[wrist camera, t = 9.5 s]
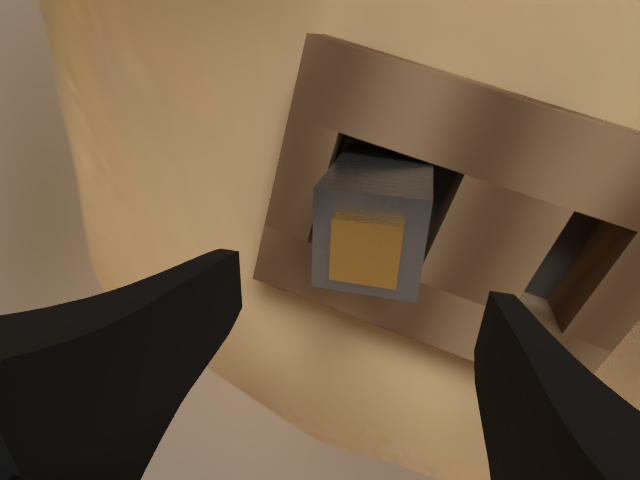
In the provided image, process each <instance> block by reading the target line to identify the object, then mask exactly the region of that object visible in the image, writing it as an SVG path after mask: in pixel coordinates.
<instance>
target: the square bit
mask: <svg viewBox="0 0 640 480" xmlns="http://www.w3.org/2000/svg"><path fill="white" fill-rule="evenodd" d="M432 205H433V164H432V163H429V162H426V161H423V160H420V159H417V158H414V157H411V156H408V155H405V154H402V153H399V152H396V151H393V150H390V149H387V148H384V147H381V146H378V145H370V144H358V143H349V145H348V146H347V147H346V148H345V150H344V151H343V152H342V153H341V154H340V156H339V157H338V158H337V159H336V161H335V162H334V163H333V164H332V166H331V167H330V168H329V169H328V170H327V172H326V173H325V174H324V175H323V177H322V178H321V179H320V180H319V181H318V183H317V184H316V185H315V186H314V188H313V235H312V285H311V286H314V287H320V288H327V289H333V290H339V291H345V292H352V293H358V294H364V295H370V296H377V297H383V298H389V299H395V300H402V301H408V302H414V303H417V298H418V292H419V286H420V280H421V273H422V267H423V261H424V255H425V248H426V242H427V236H428V230H429V223H430V217H431V211H432Z"/></svg>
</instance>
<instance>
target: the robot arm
mask: <svg viewBox="0 0 640 480" xmlns="http://www.w3.org/2000/svg"><path fill="white" fill-rule="evenodd" d="M241 309H242V295H241V279H240V263H239V251H233V250H226V249H217V250H214V251H211V252H209V253H206V254H203V255H201V256H199V257H196V258H194V259H191V260H189V261H187V262H184V263H182V264H180V265H177V266H175V267H173V268H170V269H168V270H166V271H163V272H161V273H158V274H156V275H153V276H150V277H148V278H145V279H143V280H140V281H137V282H135V283H132V284H130V285H127V286H124V287H121V288H118V289H115V290H112V291H109V292H105V293H102V294H98V295H95V296H92V297H88V298H84V299H80V300H76V301H72V302H67V303H63V304H59V305H55V306H51V307H46V308H41V309H35V310H30V311H24V312H19V313H13V314H6V315H0V480H141V478H142V476H143V474H144V472H145V469H146V467H147V465H148V464H149V462H150V460H151V458H152V456H153V454H154V452H155V450H156V448H157V446H158V444H159V442H160V441H161V438H162V437H163V435H164V433H165V431H166V429H167V428H168V426H169V424H170V422H171V420H172V419H173V417H174V415H175V413H176V411H177V409H178V408H179V406H180V404H181V403H182V401H183V400H184V398H185V397H186V395H187V393H188V392H189V390H190V389H191V388H192V386H193V385H194V383H195V382H196V381H197V379H198V378H199V376H200V375H201V373H202V372H203V371H204V369H205V368H206V366H207V365H208V364H209V362H210V361H211V359H212V358H213V356H214V355H215V354H216V352H217V351H218V349H219V348H220V346H221V345H222V343H223V342H224V341H225V339H226V338H227V336H228V335H229V333H230V331H231V329H232V327H233V325H234V323H235V321H236V319H237V317H238V315H239V313H240V311H241ZM474 370H475V386H476V392H477V398H478V404H479V410H480V416H481V422H482V427H483V433H484V439H485V444H486V450H487V456H488V462H489V469H490V477H491V480H640V411H639V410H637V409H636V408H635V407H633V406H632V405H631V404H629V403H628V402H627V401H626V400H624V399H623V398H622V397H621V396H619V395H618V394H617V393H616V392H614V391H613V390H612V389H611V388H609V387H608V386H607V385H606V384H604V383H603V382H602V381H601V380H600V379H598V378H597V377H596V376H595V375H594V374H593V373H592V372H590V371H589V370H588V369H587V368H586V367H585V366H584V365H583V364H582V363H581V362H580V361H578V360H577V359H576V358H575V357H574V356H573V355H572V354H571V353H570V352H569V351H568V350H567V349H566V348H565V347H564V346H563V345H562V344H561V343H560V342H559V341H558V340H557V339H556V338H555V337H554V336H553V335H552V334H551V333H550V332H549V331H548V330H547V329H546V328H545V327H544V326H543V325H542V324H541V322H540V321H539V320H538V319H537V318H536V317H535V316H534V315H533V314H532V313H531V312H530V310H529V309H528V308H527V307H526V306H525V305H524V304H523V303H522V302H521V301H520V300H519V299H518V298H517V297H516V296H515V295H514V294H508V293H502V292H495V291H489V295H488V299H487V303H486V307H485V310H484V314H483V318H482V322H481V326H480V329H479V333H478V337H477V341H476V345H475V348H474Z"/></svg>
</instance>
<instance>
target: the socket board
mask: <svg viewBox="0 0 640 480" xmlns="http://www.w3.org/2000/svg"><path fill="white" fill-rule="evenodd" d="M349 143H358V144H370V145H378V146H381V147H384V148H387V149H390V150H393V151H396V152H399V153H402V154H405V155H408V156H411V157H414V158H417V159H420V160H423V161H426V162H429V163H432V164H433V205H432V211H431V217H430V223H429V230H428V236H427V242H426V248H425V255H424V261H423V267H422V273H421V280H420V286H419V292H418V298H417V303H414V302H408V301H402V300H395V299H389V298H383V297H377V296H370V295H364V294H358V293H352V292H345V291H339V290H333V289H327V288H320V287H314V286H311V285H312V235H313V188H314V186H315V185H316V184H317V183H318V181H319V180H320V179H321V178H322V177H323V175H324V174H325V173H326V172H327V170H328V169H329V168H330V167H331V166H332V164H333V163H334V162H335V161H336V159H337V158H338V157H339V156H340V154H341V153H342V152H343V151H344V150H345V148H346V147H347V146H348V145H349ZM253 279H256V280H259V281H261V282H264V283H267V284H269V285H272V286H274V287H277V288H280V289H282V290H285V291H288V292H290V293H293V294H296V295H298V296H301V297H304V298H306V299H309V300H312V301H314V302H317V303H320V304H322V305H325V306H327V307H330V308H333V309H335V310H338V311H341V312H343V313H346V314H349V315H351V316H354V317H357V318H359V319H362V320H365V321H367V322H370V323H373V324H375V325H378V326H380V327H383V328H386V329H388V330H391V331H394V332H396V333H399V334H402V335H404V336H407V337H410V338H412V339H415V340H418V341H420V342H423V343H426V344H428V345H431V346H433V347H436V348H439V349H441V350H444V351H447V352H449V353H452V354H455V355H457V356H460V357H463V358H465V359H468V360H471V361H473V362H474V348H475V345H476V341H477V337H478V333H479V329H480V326H481V322H482V318H483V314H484V310H485V307H486V303H487V299H488V295H489V291H495V292H502V293H508V294H514V295H515V296H516V297H517V298H518V299H519V300H520V301H521V302H522V303H523V304H524V305H525V306H526V307H527V308H528V309H529V310H530V312H531V313H532V314H533V315H534V316H535V317H536V318H537V319H538V320H539V321H540V322H541V324H542V325H543V326H544V327H545V328H546V329H547V330H548V331H549V332H550V333H551V334H552V335H553V336H554V337H555V338H556V339H557V340H558V341H559V342H560V343H561V344H562V345H563V346H564V347H565V348H566V349H567V350H568V351H569V352H570V353H571V354H572V355H573V356H574V357H575V358H576V359H577V360H578V361H580V362H581V363H582V364H583V365H584V366H585V367H586V368H587V369H588V370H589V371H590V372H592V373H594V372H595V371H596V370H597V369H598V368H599V366H600V365H601V364H602V363H603V362H604V360H605V359H606V358H607V357H608V356H609V355H610V353H611V352H612V351H613V350H614V349H615V347H616V346H617V345H618V344H619V343H620V342H621V340H622V339H623V338H624V337H625V336H626V335H627V333H628V332H629V331H630V330H631V329H632V327H633V326H634V325H635V324H636V323H637V322H638V320H639V319H640V132H639V131H636V130H632V129H629V128H626V127H623V126H620V125H616V124H613V123H610V122H607V121H603V120H600V119H597V118H594V117H590V116H587V115H584V114H581V113H578V112H574V111H571V110H568V109H565V108H561V107H558V106H555V105H552V104H548V103H545V102H542V101H539V100H536V99H532V98H529V97H526V96H523V95H519V94H516V93H513V92H510V91H506V90H503V89H500V88H497V87H494V86H490V85H487V84H484V83H481V82H477V81H474V80H471V79H468V78H465V77H461V76H458V75H455V74H452V73H448V72H445V71H442V70H439V69H435V68H432V67H429V66H426V65H423V64H419V63H416V62H413V61H410V60H406V59H403V58H400V57H397V56H393V55H390V54H387V53H384V52H381V51H377V50H374V49H371V48H368V47H364V46H361V45H358V44H355V43H351V42H348V41H345V40H342V39H339V38H335V37H332V36H329V35H326V34H310V33H307V35H306V40H305V44H304V49H303V53H302V58H301V63H300V67H299V72H298V76H297V81H296V85H295V90H294V94H293V99H292V103H291V108H290V112H289V117H288V122H287V126H286V131H285V135H284V140H283V144H282V149H281V153H280V158H279V162H278V167H277V172H276V176H275V181H274V185H273V190H272V194H271V199H270V203H269V208H268V212H267V217H266V221H265V226H264V231H263V235H262V240H261V244H260V249H259V253H258V258H257V262H256V267H255V271H254V276H253Z"/></svg>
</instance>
